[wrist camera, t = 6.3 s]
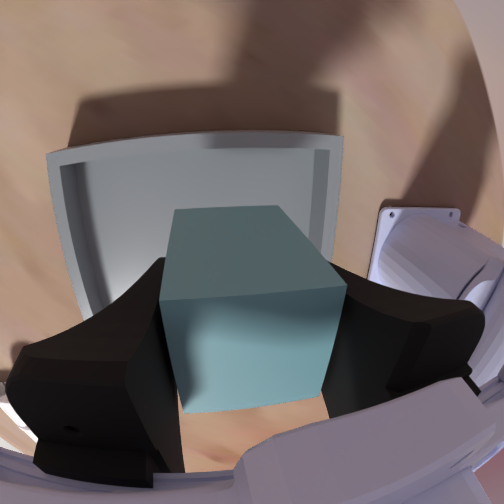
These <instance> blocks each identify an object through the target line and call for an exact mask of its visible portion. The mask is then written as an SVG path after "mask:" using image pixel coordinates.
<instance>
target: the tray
mask: <svg viewBox="0 0 504 504" xmlns="http://www.w3.org/2000/svg"><path fill="white" fill-rule="evenodd" d="M343 141H344V136H339V135H334V134H328V133H322V132H306V131H284V130H218V131H195V132H179V133H166V134H155V135H145V136H136V137H128V138H120V139H113V140H106V141H100V142H94V143H88V144H82V145H76V146H71V147H66V148H63V149H60V150H57V151H54V152H50V153H47V154H46V160H47V169H48V177H49V184H50V190H51V197H52V203H53V208H54V213H55V219H56V224H57V228H58V233H59V237H60V242H61V246H62V250H63V254H64V258H65V262H66V265H67V269H68V272H69V276H70V279H71V283H72V286H73V289H74V292H75V296H76V299H77V302H78V305H79V308H80V311H81V313H82V316H83V319H84V321H85V320H87V319H88V318H90V317H92V316H93V315H95V314H96V313H98V312H100V311H101V310H103V309H104V308H106V307H107V306H108V305H110V304H111V303H112V302H114V301H115V300H116V299H117V298H119V297H120V296H121V295H122V294H123V293H124V292H125V291H127V290H128V289H129V288H130V287H131V286H132V285H133V284H134V283H135V282H136V281H137V280H138V279H139V278H140V277H141V276H142V275H143V274H144V273H145V272H146V271H147V270H148V269H149V268H150V266H151V265H152V264H153V263H154V262H155V261H156V260H157V259H158V258H159V257H166V253H167V247H168V242H169V236H170V231H171V226H172V220H173V215H174V210H175V209H190V208H210V207H233V206H264V205H278V206H279V207H280V208H281V209H282V210H283V211H284V212H285V213H286V215H287V216H288V217H289V218H290V219H291V220H292V221H293V222H294V224H295V225H296V226H297V227H298V228H299V229H300V230H301V231H302V233H303V234H304V235H305V236H306V237H307V238H308V239H309V241H310V242H311V243H312V244H313V245H314V246H315V247H316V249H317V250H318V251H319V252H320V253H321V254H322V256H323V257H324V258H325V259H326V260H327V261H329V262H331V261H332V254H333V246H334V239H335V230H336V222H337V213H338V203H339V193H340V182H341V170H342V157H343Z"/></svg>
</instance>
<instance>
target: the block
mask: <svg viewBox="0 0 504 504" xmlns="http://www.w3.org/2000/svg"><path fill="white" fill-rule="evenodd" d="M346 289H347V284H346V283H345V282H344V280H343V279H342V278H341V277H340V276H339V274H338V273H337V272H336V271H335V270H334V268H333V267H332V266H331V265H330V264H329V263H328V261H327V260H326V259H325V258H324V257H323V256H322V254H321V253H320V252H319V251H318V250H317V249H316V247H315V246H314V245H313V244H312V243H311V242H310V241H309V239H308V238H307V237H306V236H305V235H304V234H303V233H302V231H301V230H300V229H299V228H298V227H297V226H296V225H295V224H294V222H293V221H292V220H291V219H290V218H289V217H288V216H287V215H286V213H285V212H284V211H283V210H282V209H281V208H280V207H279V206H278V205H264V206H233V207H210V208H190V209H175V210H174V215H173V220H172V226H171V231H170V236H169V242H168V247H167V253H166V259H165V265H164V271H163V277H162V284H161V291H160V298H159V303H160V309H161V314H162V320H163V325H164V330H165V335H166V340H167V345H168V350H169V354H170V359H171V363H172V368H173V372H174V376H175V380H176V385H177V389H178V393H179V396H180V400H181V404H182V408H183V412H184V414H185V413H203V412H216V411H227V410H237V409H245V408H253V407H261V406H268V405H274V404H280V403H286V402H292V401H297V400H303V399H308V398H313V397H317V396H319V394H320V391H321V388H322V384H323V381H324V378H325V374H326V371H327V367H328V363H329V360H330V356H331V352H332V349H333V345H334V341H335V337H336V333H337V329H338V325H339V321H340V316H341V312H342V308H343V303H344V299H345V294H346Z"/></svg>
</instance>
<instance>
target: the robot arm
mask: <svg viewBox="0 0 504 504" xmlns="http://www.w3.org/2000/svg"><path fill="white" fill-rule="evenodd" d="M391 212H392V215H391V216H390V213H391ZM460 214H461V212H460V210H459V209H457V208H431V207H384V208H382V209H381V210H380V213H379V219H378V225H377V231H376V237H375V242H374V248H373V253H372V258H371V263H370V268H369V273H368V278H367V279H365V278H363V277H360V276H358V275H356V274H354V273H351V272H349V271H347V270H345V269H343V268H341V267H339V266H337V265H335V264H333V263H331V262H329V261H328V263H329V264H330V265H331V266H332V267H333V268H334V270H335V271H336V272H337V273H338V274H339V276H340V277H341V278H342V279H343V280H344V282H345V283H346V284H347V289H346V294H345V299H344V303H343V308H342V312H341V316H340V321H339V325H338V329H337V333H336V337H335V341H334V345H333V349H332V352H331V356H330V360H329V363H328V367H327V371H326V374H325V378H324V381H323V384H322V388H321V391H322V394H323V398H324V401H325V404H326V407H327V411H328V414H329V418H330V419H327V420H323V421H319V422H315V423H310V424H308V425H305V426H302V427H299V428H295V429H292V430H289V431H286V432H283V433H279V434H276V435H273V436H272V437H270V438H268V439H266V440H265V441H263V442H261V443H259V444H257V445H256V446H254V447H252V448H250V449H248V450H247V451H246V452H245V453H244V454H243V455H242V457H241V458H240V460H239V461H238V463H237V464H236V466H235V467H234V469H233V470H224V471H212V472H196V473H185V468H184V461H183V454H182V445H181V435H180V425H179V412H178V395H177V385H176V380H175V376H174V372H173V368H172V363H171V359H170V354H169V350H168V345H167V340H166V335H165V330H164V325H163V320H162V314H161V309H160V303H159V298H160V291H161V284H162V277H163V271H164V265H165V259H166V257H159V258H158V259H157V260H156V261H155V262H154V263H153V264H152V265H151V266H150V268H149V269H148V270H147V271H146V272H145V273H144V274H143V275H142V276H141V277H140V278H139V279H138V280H137V281H136V282H135V283H134V284H133V285H132V286H131V287H130V288H129V289H128V290H127V291H125V292H124V293H123V294H122V295H121V296H120V297H119V298H117V299H116V300H115V301H114V302H112V303H111V304H110V305H108V306H107V307H106V308H104V309H103V310H101V311H100V312H98V313H96V314H95V315H93V316H92V317H90V318H88V319H87V320H85V321H83V322H82V323H80V324H78V325H76V326H74V327H72V328H70V329H68V330H66V331H64V332H62V333H59V334H57V335H55V336H52V337H50V338H47V339H44V340H41V341H39V342H36V343H33V344H30V345H27V346H24V347H23V348H22V350H21V352H20V354H19V356H18V358H17V360H16V362H15V364H14V366H13V368H12V370H11V372H10V375H9V377H8V379H7V381H6V384H5V393H6V396H7V399H8V401H9V403H10V405H11V406H12V408H13V409H14V411H15V412H16V413H17V415H18V416H19V417H20V418H21V420H22V421H23V422H24V423H25V424H26V425H27V427H28V428H29V429H30V430H31V431H32V432H33V433H34V435H35V436H36V437H37V438H38V441H37V445H36V449H35V453H34V457H33V456H29V455H25V454H22V453H18V452H15V451H11V450H8V449H5V448H2V447H0V504H492V503H491V502H490V500H489V498H488V496H487V495H486V493H485V491H484V490H483V488H482V486H481V484H480V483H479V481H478V479H477V478H476V476H475V474H474V473H473V472H475V471H476V470H477V469H478V468H480V467H481V466H482V465H483V464H485V463H486V462H487V461H488V460H490V459H491V458H492V457H493V456H494V455H495V454H497V453H498V452H499V451H500V450H501V449H502V448H504V248H503V247H502V246H501V245H499V244H498V243H496V242H494V241H493V240H491V239H490V238H488V237H486V236H485V235H483V234H481V233H480V232H478V231H476V230H474V229H473V228H471V227H469V226H468V225H466V224H464V223H462V222H460V221H459V219H460Z"/></svg>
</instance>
